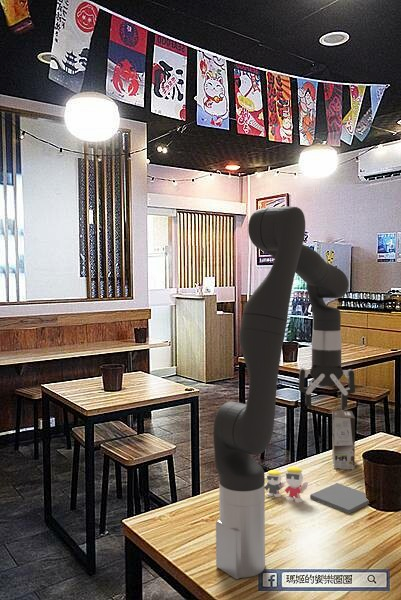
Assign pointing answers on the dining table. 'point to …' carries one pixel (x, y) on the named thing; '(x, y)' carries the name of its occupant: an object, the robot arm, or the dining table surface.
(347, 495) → the mat
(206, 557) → the dining table surface
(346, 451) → the coffee box
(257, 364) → the robot arm
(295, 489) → the toy figures
